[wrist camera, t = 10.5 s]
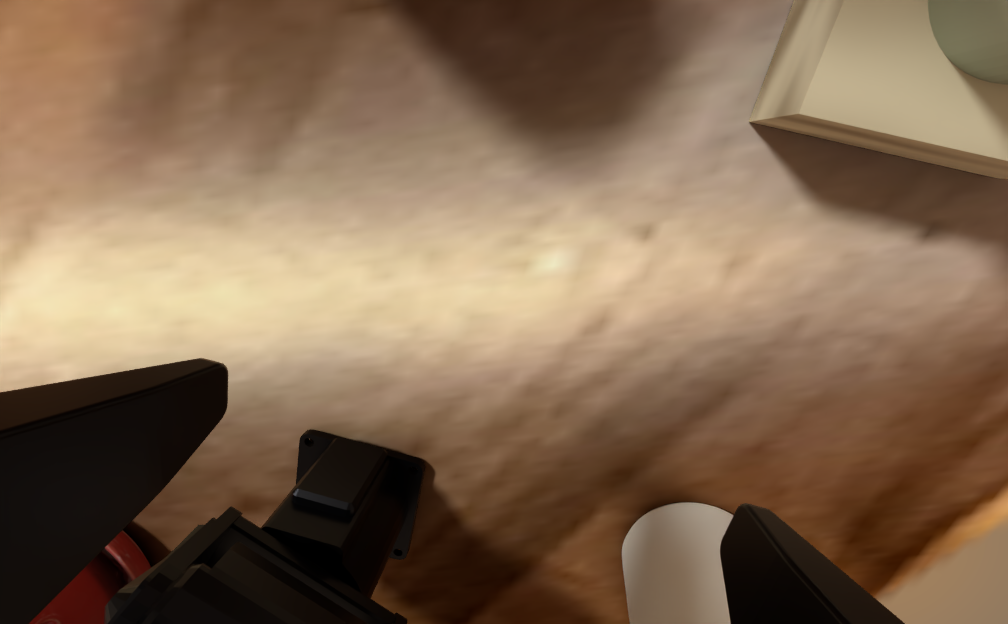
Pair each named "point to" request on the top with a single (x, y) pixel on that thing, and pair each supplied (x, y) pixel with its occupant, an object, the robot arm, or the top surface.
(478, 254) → the top surface
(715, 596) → the can
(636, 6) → the top surface
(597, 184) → the top surface
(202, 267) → the top surface
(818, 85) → the beech block
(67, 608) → the plant pot
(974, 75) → the grey-green rounded piece
